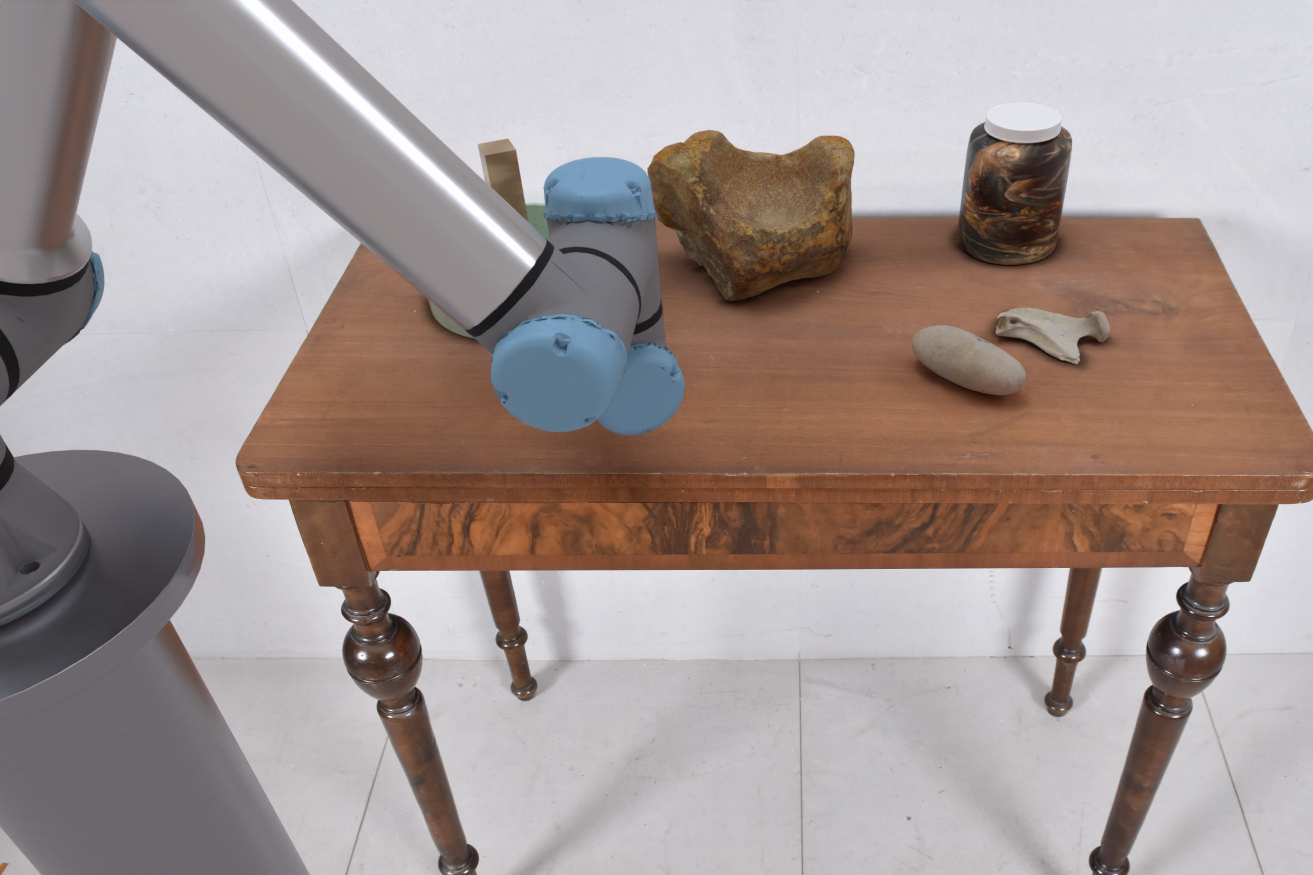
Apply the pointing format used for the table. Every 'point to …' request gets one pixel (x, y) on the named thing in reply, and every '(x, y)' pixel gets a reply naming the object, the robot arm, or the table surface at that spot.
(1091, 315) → the fossil
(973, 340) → the stone
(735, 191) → the rough brown rock
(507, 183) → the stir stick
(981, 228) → the jar
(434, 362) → the table surface
